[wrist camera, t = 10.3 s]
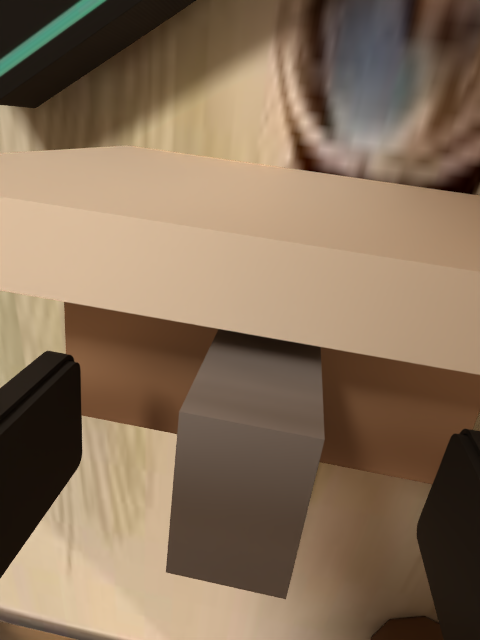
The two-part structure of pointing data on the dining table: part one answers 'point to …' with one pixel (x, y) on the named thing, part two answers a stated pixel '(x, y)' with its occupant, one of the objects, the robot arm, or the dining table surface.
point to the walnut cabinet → (260, 429)
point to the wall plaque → (67, 41)
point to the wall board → (247, 249)
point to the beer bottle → (409, 629)
